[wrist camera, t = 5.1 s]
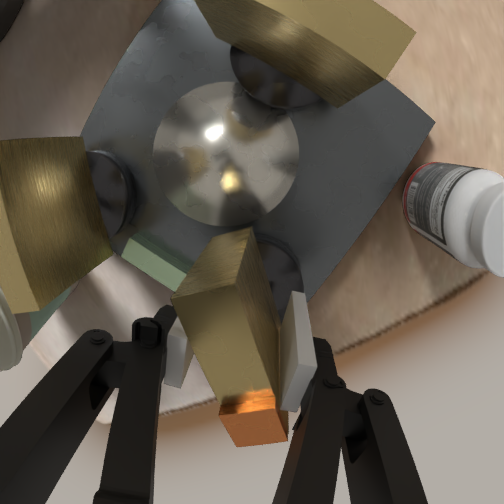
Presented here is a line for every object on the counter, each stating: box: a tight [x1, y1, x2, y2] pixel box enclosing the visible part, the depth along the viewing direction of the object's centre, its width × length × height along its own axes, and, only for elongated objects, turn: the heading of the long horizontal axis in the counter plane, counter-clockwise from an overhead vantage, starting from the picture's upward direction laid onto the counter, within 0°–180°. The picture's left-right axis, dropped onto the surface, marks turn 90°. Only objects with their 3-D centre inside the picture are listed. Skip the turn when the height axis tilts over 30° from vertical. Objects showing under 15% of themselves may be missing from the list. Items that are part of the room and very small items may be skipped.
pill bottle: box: [403, 162, 504, 278], centre depth 16 cm, size 6×6×10 cm
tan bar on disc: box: [171, 226, 304, 447], centre depth 16 cm, size 8×6×11 cm
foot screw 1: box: [0, 137, 137, 314], centre depth 15 cm, size 8×6×10 cm
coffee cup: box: [0, 280, 79, 371], centre depth 19 cm, size 9×8×12 cm
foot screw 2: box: [194, 0, 416, 111], centre depth 12 cm, size 8×6×10 cm
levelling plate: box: [80, 0, 435, 303], centre depth 19 cm, size 20×20×3 cm
